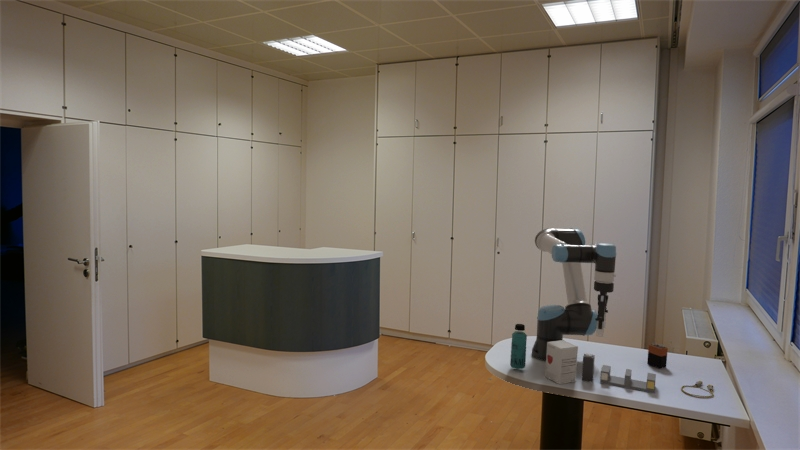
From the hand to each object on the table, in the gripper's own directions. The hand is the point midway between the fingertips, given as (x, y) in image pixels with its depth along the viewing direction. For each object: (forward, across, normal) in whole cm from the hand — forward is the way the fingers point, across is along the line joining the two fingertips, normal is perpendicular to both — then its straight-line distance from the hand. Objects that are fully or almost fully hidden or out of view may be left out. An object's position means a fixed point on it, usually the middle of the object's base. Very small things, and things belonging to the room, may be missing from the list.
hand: (600, 332), depth 218 cm
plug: (+20, -4, +4) cm, 20 cm away
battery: (+20, +28, -23) cm, 41 cm away
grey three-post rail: (+20, -2, -11) cm, 23 cm away
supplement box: (+20, -9, +14) cm, 26 cm away
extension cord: (+20, +5, -38) cm, 43 cm away
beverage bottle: (+20, -7, +32) cm, 38 cm away
